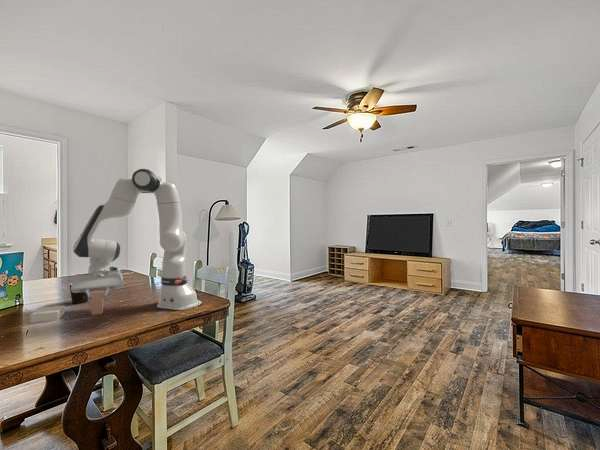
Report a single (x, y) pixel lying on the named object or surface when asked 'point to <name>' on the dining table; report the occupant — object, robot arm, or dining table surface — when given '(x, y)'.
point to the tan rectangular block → (97, 302)
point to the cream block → (47, 314)
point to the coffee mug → (78, 297)
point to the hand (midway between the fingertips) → (97, 297)
